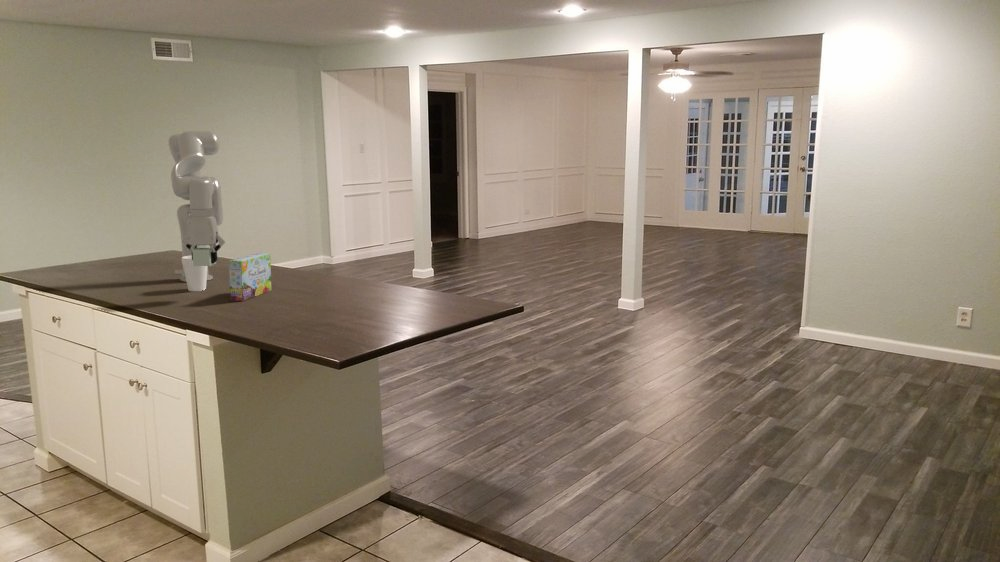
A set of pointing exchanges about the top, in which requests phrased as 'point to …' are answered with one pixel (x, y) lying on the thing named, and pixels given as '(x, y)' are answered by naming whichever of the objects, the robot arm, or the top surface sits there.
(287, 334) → the top surface
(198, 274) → the foam cup
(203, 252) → the sage block
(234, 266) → the snack box
